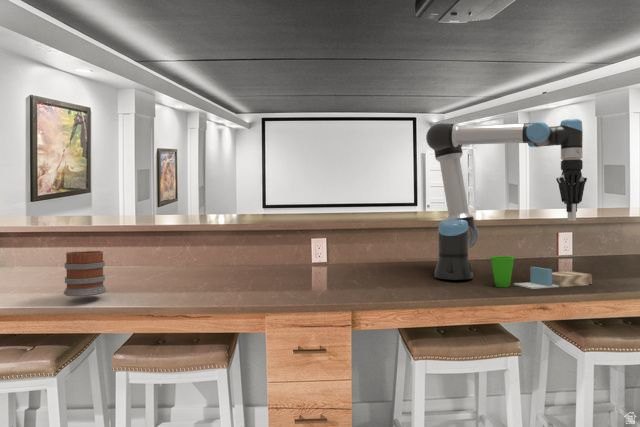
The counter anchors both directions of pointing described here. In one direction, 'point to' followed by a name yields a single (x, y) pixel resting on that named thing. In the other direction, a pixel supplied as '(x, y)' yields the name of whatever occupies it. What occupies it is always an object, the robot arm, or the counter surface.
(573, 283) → the light wood flat block
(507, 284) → the cup
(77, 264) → the mug
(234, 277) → the counter surface
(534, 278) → the card
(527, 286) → the mat
